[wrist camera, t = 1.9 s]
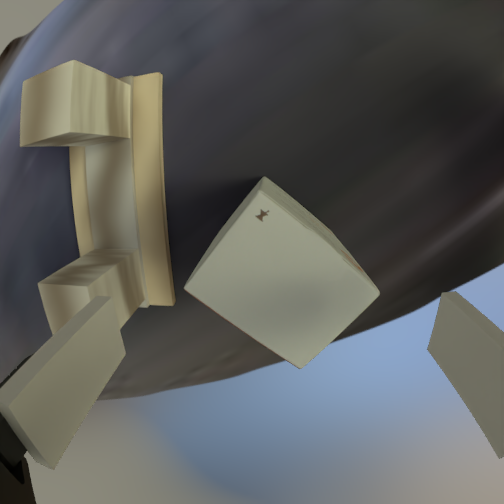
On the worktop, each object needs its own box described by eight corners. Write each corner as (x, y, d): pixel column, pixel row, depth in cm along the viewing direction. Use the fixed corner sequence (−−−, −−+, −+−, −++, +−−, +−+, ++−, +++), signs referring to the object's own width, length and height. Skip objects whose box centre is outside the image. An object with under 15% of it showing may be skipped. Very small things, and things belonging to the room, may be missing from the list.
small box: (219, 230, 27) (178, 288, 14) (263, 174, 25) (259, 184, 13) (288, 283, 28) (301, 373, 16) (334, 232, 26) (385, 291, 14)
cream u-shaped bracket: (162, 74, 23) (107, 35, 13) (175, 301, 29) (136, 364, 19) (75, 95, 23) (5, 80, 13) (93, 297, 30) (38, 346, 20)
